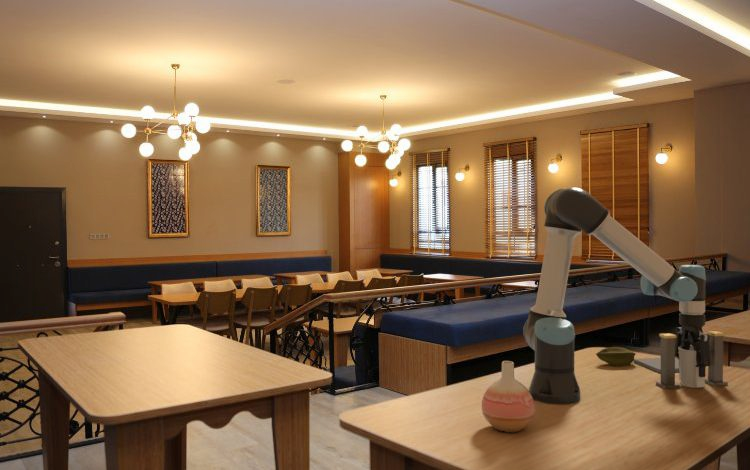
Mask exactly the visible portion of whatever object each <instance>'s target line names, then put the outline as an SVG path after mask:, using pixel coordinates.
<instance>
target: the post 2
mask: <svg viewBox="0 0 750 470" xmlns="http://www.w3.org/2000/svg"><path fill="white" fill-rule="evenodd" d="M706 334H709V336H710V338H709V349H710V361H711V366H707V367H708V368H707V369H708V370H707V378H705V384H708V385H710V386H712V387H721V386H722V387H723V386H728V384H729V382H728V381H726V380H724V374H723V373H724V337H725V335H726V334H725V332H720V331H717V330H716V331H714V330H713V331H706Z"/></svg>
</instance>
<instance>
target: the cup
mask: <svg viewBox="0 0 750 470" xmlns="http://www.w3.org/2000/svg"><path fill="white" fill-rule="evenodd" d="M678 350H679V352H678V353H679V360H680V374H681V380H680V385H681V386H683V387H686V388H693V389H699V388H700V389H701V387H695V371H696V366H695V365H697V361H696V351H694V348H693V346H692V345H690V348H689V350H684V349H682V346H679V347H678Z"/></svg>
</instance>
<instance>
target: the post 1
mask: <svg viewBox="0 0 750 470" xmlns="http://www.w3.org/2000/svg"><path fill="white" fill-rule="evenodd" d="M658 334H659V335H658V336H659V337H660V358H661V373H660V380H659V381H655V386H658V387H660V388H662V389H665V390H672V389H674V390H675V389H681V387H680V385H681V384H678V383H677V382H676V372H675V358H676V357H675V341H676V338H677V335H676V334H674V333H658Z"/></svg>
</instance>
